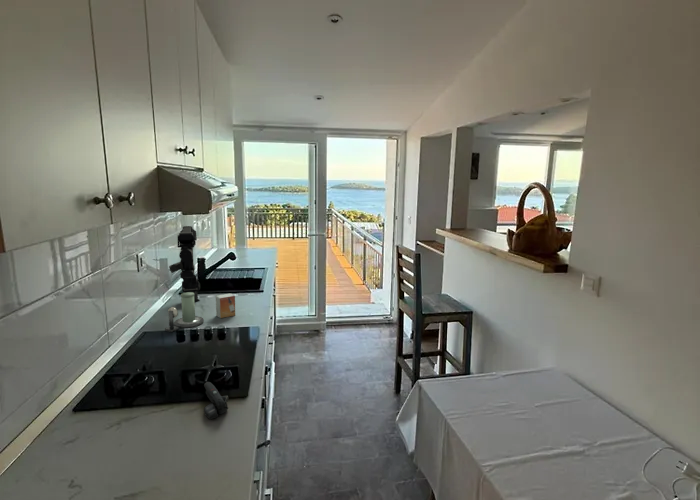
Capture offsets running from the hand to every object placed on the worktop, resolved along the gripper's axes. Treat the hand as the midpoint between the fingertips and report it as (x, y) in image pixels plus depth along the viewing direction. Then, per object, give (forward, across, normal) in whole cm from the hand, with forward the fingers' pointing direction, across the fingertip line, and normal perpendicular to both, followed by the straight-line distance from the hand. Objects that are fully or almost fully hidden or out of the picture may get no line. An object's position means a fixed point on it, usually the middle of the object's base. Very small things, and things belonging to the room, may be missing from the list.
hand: (188, 286), depth 196 cm
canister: (+12, +18, 0) cm, 21 cm away
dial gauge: (+13, +25, -7) cm, 29 cm away
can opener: (+14, +92, +9) cm, 94 cm away
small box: (+13, +12, +17) cm, 25 cm away
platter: (+13, +18, 0) cm, 22 cm away
